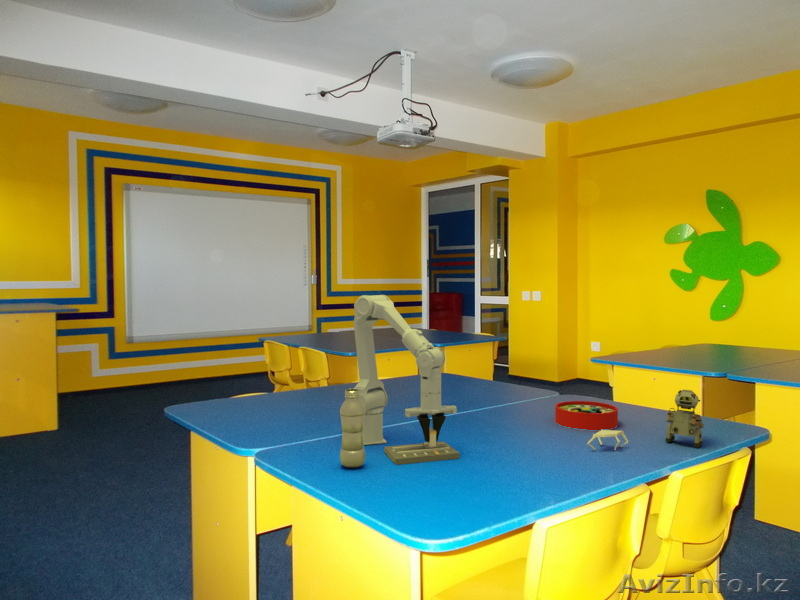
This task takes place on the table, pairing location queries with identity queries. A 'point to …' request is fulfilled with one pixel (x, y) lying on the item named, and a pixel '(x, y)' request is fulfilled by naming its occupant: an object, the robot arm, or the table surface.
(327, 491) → the table surface
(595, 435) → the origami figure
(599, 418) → the red round tray
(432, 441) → the fader
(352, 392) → the plastic bottle
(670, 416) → the figurine
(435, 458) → the console
